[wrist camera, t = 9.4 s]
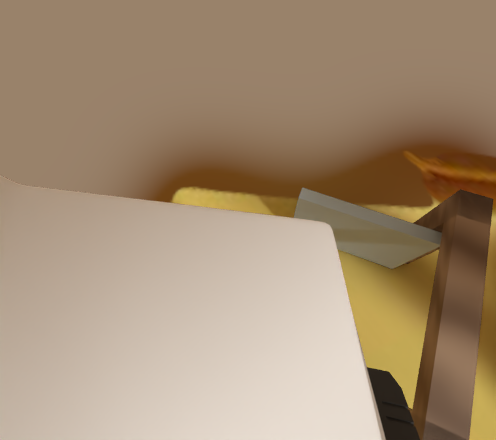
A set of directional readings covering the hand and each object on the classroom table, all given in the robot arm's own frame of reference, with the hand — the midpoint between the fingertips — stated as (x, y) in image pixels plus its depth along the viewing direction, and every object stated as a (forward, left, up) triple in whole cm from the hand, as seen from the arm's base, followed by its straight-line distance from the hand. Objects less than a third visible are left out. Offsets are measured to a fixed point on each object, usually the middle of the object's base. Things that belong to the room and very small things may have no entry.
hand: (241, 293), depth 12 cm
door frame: (-16, +7, -28) cm, 33 cm away
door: (-17, -5, -28) cm, 33 cm away
